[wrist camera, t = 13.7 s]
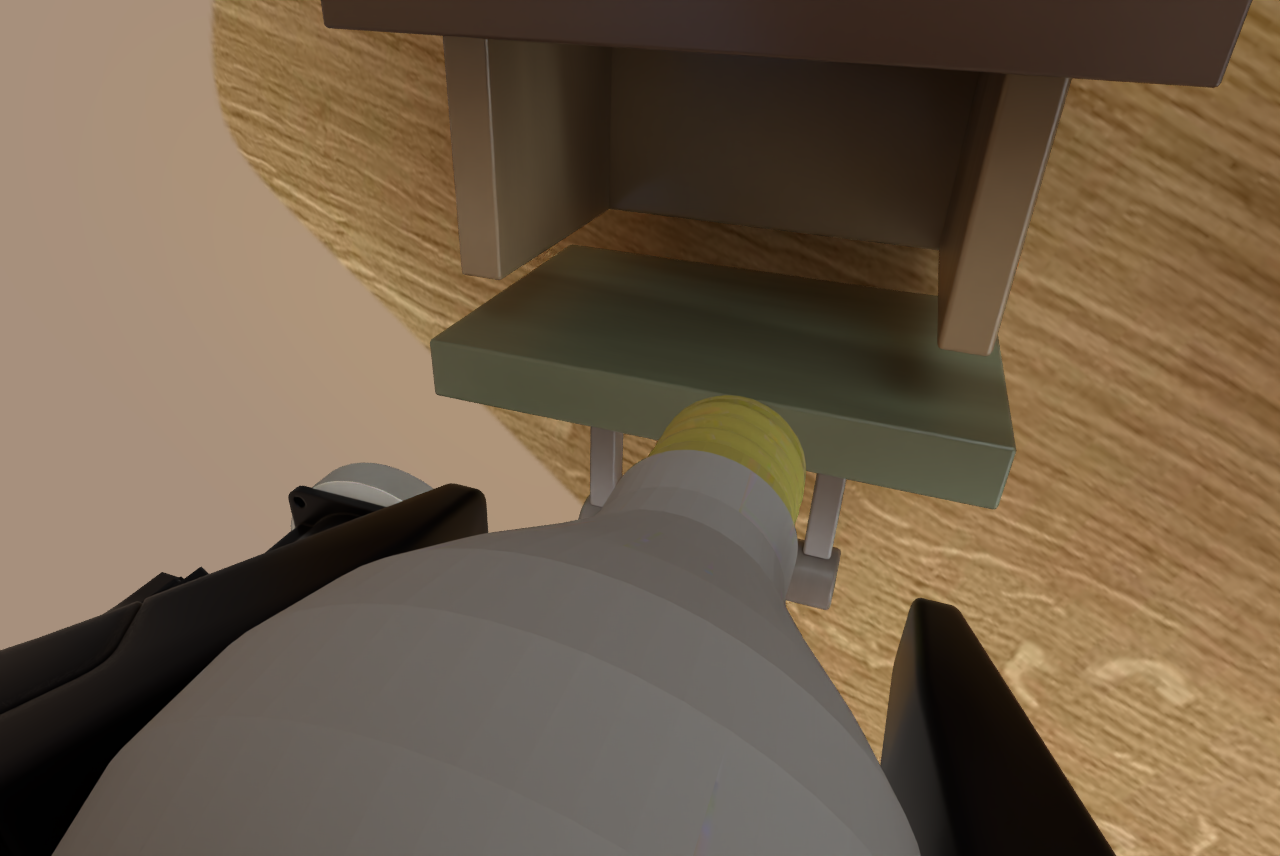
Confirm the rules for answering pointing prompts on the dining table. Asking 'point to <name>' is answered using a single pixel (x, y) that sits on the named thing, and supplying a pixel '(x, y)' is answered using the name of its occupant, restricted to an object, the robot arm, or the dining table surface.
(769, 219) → the drawer
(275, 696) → the light bulb
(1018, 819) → the robot arm
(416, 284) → the dining table surface
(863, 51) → the cabinet
